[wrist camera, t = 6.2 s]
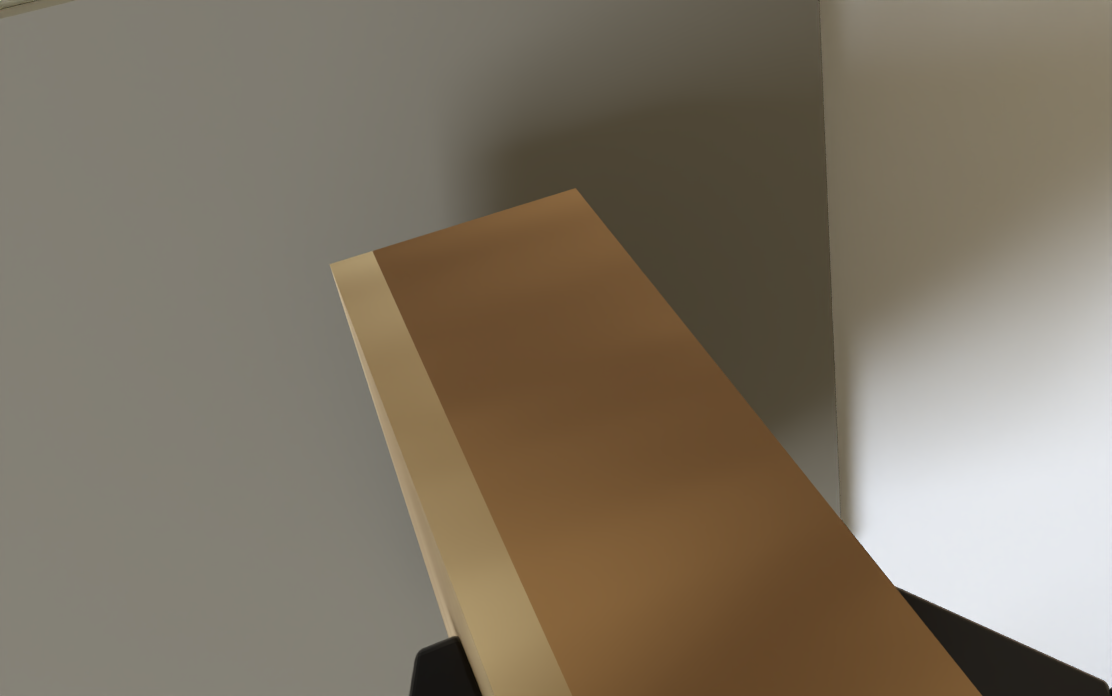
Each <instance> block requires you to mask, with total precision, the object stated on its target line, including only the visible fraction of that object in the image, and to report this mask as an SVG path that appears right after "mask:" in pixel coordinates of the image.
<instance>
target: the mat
mask: <svg viewBox="0 0 1112 696" xmlns="http://www.w3.org/2000/svg"><path fill="white" fill-rule="evenodd" d="M574 188H576V189H577V190H578V192H579V193H580V194H581V195H582V197H583V198H584V199H585V200H586V202H587V203H588V204H589V205H590V207H591V208H592V209H593V210H594V212H595V213H596V214H597V215H598V217H599V218H600V219H601V220H602V222H603V223H604V224H605V225H606V227H607V228H608V229H609V230H610V232H611V233H612V234H613V235H614V237H615V238H616V239H617V240H618V242H619V243H620V244H621V245H622V247H623V248H624V249H625V250H626V252H627V253H628V254H629V255H630V257H631V258H632V259H633V260H634V262H635V263H636V264H637V265H638V267H639V268H640V269H641V270H642V272H643V273H644V274H645V275H646V277H647V278H648V279H649V280H650V282H651V283H652V284H653V285H654V287H655V288H656V289H657V290H658V292H659V293H660V294H661V295H662V297H663V298H664V299H665V300H666V302H667V303H668V304H669V305H670V307H671V308H672V309H673V310H674V312H675V313H676V314H677V315H678V317H679V318H680V319H681V320H682V322H683V323H684V324H685V325H686V327H687V328H688V329H689V330H690V332H691V333H692V334H693V335H694V337H695V338H696V339H697V340H698V342H699V343H700V344H701V345H702V346H703V348H704V349H705V350H706V351H707V353H708V354H709V355H710V356H711V358H712V359H713V360H714V361H715V363H716V364H717V365H718V366H719V368H720V369H721V370H722V371H723V373H724V374H725V375H726V376H727V378H728V379H729V380H730V381H731V383H732V384H733V385H734V386H735V388H736V389H737V390H738V391H739V393H740V394H741V395H742V396H743V398H744V399H745V400H746V401H747V403H748V404H749V405H750V406H751V408H752V409H753V410H754V411H755V413H756V414H757V415H758V416H759V418H760V419H761V420H762V421H763V423H764V424H765V425H766V426H767V428H768V429H769V430H770V431H771V433H772V434H773V435H774V436H775V438H776V439H777V440H778V441H779V443H780V444H781V445H782V446H783V448H784V449H785V450H786V451H787V453H788V454H789V455H790V456H791V458H792V459H793V460H794V461H795V463H796V464H797V465H798V466H799V468H800V469H801V470H802V471H803V473H804V474H805V475H806V476H807V478H808V479H809V480H810V481H811V483H812V484H813V485H814V486H815V488H816V489H817V490H818V491H819V493H820V494H821V495H822V496H823V498H824V499H825V500H826V501H827V503H828V504H829V505H830V506H831V508H832V509H833V510H834V511H835V513H836V514H837V515H838V516H839V518H840V519H841V513H840V489H839V465H838V441H837V417H836V393H835V369H834V345H833V321H832V297H831V273H830V249H829V225H828V201H827V177H826V153H825V129H824V105H823V81H822V57H821V33H820V9H819V0H37V1H33V2H29V3H25V4H21V5H17V6H13V7H9V8H4V9H0V696H409V691H410V685H411V678H412V672H413V666H414V660H415V657H416V654H417V653H418V651H419V650H421V649H422V648H425V647H427V646H430V645H432V644H435V643H437V642H440V641H442V640H445V639H447V638H449V637H448V634H447V631H446V627H445V624H444V621H443V618H442V615H441V612H440V609H439V605H438V602H437V599H436V596H435V593H434V590H433V587H432V584H431V580H430V577H429V574H428V571H427V568H426V565H425V562H424V559H423V555H422V552H421V549H420V546H419V543H418V540H417V537H416V533H415V530H414V527H413V524H412V521H411V518H410V515H409V512H408V508H407V505H406V502H405V499H404V496H403V493H402V490H401V487H400V483H399V480H398V477H397V474H396V471H395V468H394V465H393V461H392V458H391V455H390V452H389V449H388V446H387V443H386V440H385V436H384V433H383V430H382V427H381V424H380V421H379V418H378V415H377V411H376V408H375V405H374V402H373V399H372V396H371V393H370V390H369V386H368V383H367V380H366V377H365V374H364V371H363V368H362V364H361V361H360V358H359V355H358V352H357V349H356V346H355V343H354V339H353V336H352V333H351V330H350V327H349V324H348V321H347V318H346V314H345V311H344V308H343V305H342V302H341V299H340V296H339V292H338V289H337V286H336V283H335V280H334V277H333V274H332V271H331V267H330V264H332V263H335V262H338V261H342V260H345V259H348V258H351V257H355V256H358V255H361V254H364V253H368V252H371V251H374V250H377V249H380V248H384V247H387V246H390V245H393V244H397V243H400V242H403V241H406V240H410V239H413V238H416V237H419V236H422V235H426V234H429V233H432V232H435V231H439V230H442V229H445V228H448V227H451V226H455V225H458V224H461V223H464V222H468V221H471V220H474V219H477V218H481V217H484V216H487V215H490V214H493V213H497V212H500V211H503V210H506V209H510V208H513V207H516V206H519V205H523V204H526V203H529V202H532V201H535V200H539V199H542V198H545V197H548V196H552V195H555V194H558V193H561V192H565V191H568V190H571V189H574Z"/></svg>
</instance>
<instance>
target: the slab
mask: <svg viewBox="0 0 1112 696" xmlns="http://www.w3.org/2000/svg"><path fill="white" fill-rule="evenodd" d="M330 267H331V271H332V274H333V277H334V280H335V283H336V286H337V289H338V292H339V296H340V299H341V302H342V305H343V308H344V311H345V314H346V318H347V321H348V324H349V327H350V330H351V333H352V336H353V339H354V343H355V346H356V349H357V352H358V355H359V358H360V361H361V364H362V368H363V371H364V374H365V377H366V380H367V383H368V386H369V390H370V393H371V396H372V399H373V402H374V405H375V408H376V411H377V415H378V418H379V421H380V424H381V427H382V430H383V433H384V436H385V440H386V443H387V446H388V449H389V452H390V455H391V458H392V461H393V465H394V468H395V471H396V474H397V477H398V480H399V483H400V487H401V490H402V493H403V496H404V499H405V502H406V505H407V508H408V512H409V515H410V518H411V521H412V524H413V527H414V530H415V533H416V537H417V540H418V543H419V546H420V549H421V552H422V555H423V559H424V562H425V565H426V568H427V571H428V574H429V577H430V580H431V584H432V587H433V590H434V593H435V596H436V599H437V602H438V605H439V609H440V612H441V615H442V618H443V621H444V624H445V627H446V631H447V634H448V637H449V638H450V637H452V636H458V637H459V638H460V640H461V643H462V645H463V648H464V650H465V653H466V655H467V658H468V661H469V663H470V666H471V668H472V671H473V673H474V676H475V678H476V681H477V683H478V686H479V688H480V691H481V693H482V696H982V695H981V694H980V692H979V691H978V690H977V689H976V687H975V686H974V685H973V684H972V682H971V681H970V680H969V679H968V677H967V676H966V675H965V674H964V672H963V671H962V670H961V669H960V667H959V666H958V665H957V664H956V662H955V661H954V660H953V659H952V657H951V656H950V655H949V654H948V652H947V651H946V650H945V649H944V647H943V646H942V645H941V644H940V642H939V641H938V640H937V639H936V637H935V636H934V635H933V634H932V632H931V631H930V630H929V629H928V627H927V626H926V625H925V624H924V622H923V621H922V620H921V619H920V617H919V616H918V615H917V614H916V612H915V611H914V610H913V609H912V607H911V606H910V605H909V604H908V602H907V601H906V600H905V599H904V597H903V596H902V595H901V594H900V592H899V591H898V590H897V589H896V587H895V586H894V585H893V584H892V582H891V581H890V580H889V579H888V577H887V576H886V575H885V574H884V572H883V571H882V570H881V569H880V567H879V566H878V565H877V564H876V562H875V561H874V560H873V559H872V557H871V556H870V555H869V554H868V552H867V551H866V550H865V549H864V548H863V546H862V545H861V544H860V543H859V541H858V540H857V539H856V538H855V536H854V535H853V534H852V533H851V531H850V530H849V529H848V528H847V526H846V525H845V524H844V523H843V521H842V520H841V519H840V518H839V516H838V515H837V514H836V513H835V511H834V510H833V509H832V508H831V506H830V505H829V504H828V503H827V501H826V500H825V499H824V498H823V496H822V495H821V494H820V493H819V491H818V490H817V489H816V488H815V486H814V485H813V484H812V483H811V481H810V480H809V479H808V478H807V476H806V475H805V474H804V473H803V471H802V470H801V469H800V468H799V466H798V465H797V464H796V463H795V461H794V460H793V459H792V458H791V456H790V455H789V454H788V453H787V451H786V450H785V449H784V448H783V446H782V445H781V444H780V443H779V441H778V440H777V439H776V438H775V436H774V435H773V434H772V433H771V431H770V430H769V429H768V428H767V426H766V425H765V424H764V423H763V421H762V420H761V419H760V418H759V416H758V415H757V414H756V413H755V411H754V410H753V409H752V408H751V406H750V405H749V404H748V403H747V401H746V400H745V399H744V398H743V396H742V395H741V394H740V393H739V391H738V390H737V389H736V388H735V386H734V385H733V384H732V383H731V381H730V380H729V379H728V378H727V376H726V375H725V374H724V373H723V371H722V370H721V369H720V368H719V366H718V365H717V364H716V363H715V361H714V360H713V359H712V358H711V356H710V355H709V354H708V353H707V351H706V350H705V349H704V348H703V346H702V345H701V344H700V343H699V342H698V340H697V339H696V338H695V337H694V335H693V334H692V333H691V332H690V330H689V329H688V328H687V327H686V325H685V324H684V323H683V322H682V320H681V319H680V318H679V317H678V315H677V314H676V313H675V312H674V310H673V309H672V308H671V307H670V305H669V304H668V303H667V302H666V300H665V299H664V298H663V297H662V295H661V294H660V293H659V292H658V290H657V289H656V288H655V287H654V285H653V284H652V283H651V282H650V280H649V279H648V278H647V277H646V275H645V274H644V273H643V272H642V270H641V269H640V268H639V267H638V265H637V264H636V263H635V262H634V260H633V259H632V258H631V257H630V255H629V254H628V253H627V252H626V250H625V249H624V248H623V247H622V245H621V244H620V243H619V242H618V240H617V239H616V238H615V237H614V235H613V234H612V233H611V232H610V230H609V229H608V228H607V227H606V225H605V224H604V223H603V222H602V220H601V219H600V218H599V217H598V215H597V214H596V213H595V212H594V210H593V209H592V208H591V207H590V205H589V204H588V203H587V202H586V200H585V199H584V198H583V197H582V195H581V194H580V193H579V192H578V190H577V189H576V188H574V189H571V190H568V191H565V192H561V193H558V194H555V195H552V196H548V197H545V198H542V199H539V200H535V201H532V202H529V203H526V204H523V205H519V206H516V207H513V208H510V209H506V210H503V211H500V212H497V213H493V214H490V215H487V216H484V217H481V218H477V219H474V220H471V221H468V222H464V223H461V224H458V225H455V226H451V227H448V228H445V229H442V230H439V231H435V232H432V233H429V234H426V235H422V236H419V237H416V238H413V239H410V240H406V241H403V242H400V243H397V244H393V245H390V246H387V247H384V248H380V249H377V250H374V251H371V252H368V253H364V254H361V255H358V256H355V257H351V258H348V259H345V260H342V261H338V262H335V263H332V264H330Z"/></svg>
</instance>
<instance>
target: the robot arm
mask: <svg viewBox="0 0 1112 696" xmlns="http://www.w3.org/2000/svg"><path fill="white" fill-rule="evenodd" d="M895 587H896V586H895ZM896 589H897V590H898V591H899V592H900V594H901V595H902V596H903V597H904V599H905V600H906V601H907V602H908V604H909V605H910V606H911V607H912V609H913V610H914V611H915V612H916V614H917V615H918V616H919V617H920V619H921V620H922V621H923V622H924V624H925V625H926V626H927V627H928V629H929V630H930V631H931V632H932V634H933V635H934V636H935V637H936V639H937V640H938V641H939V642H940V644H941V645H942V646H943V647H944V649H945V650H946V651H947V652H948V654H949V655H950V656H951V657H952V659H953V660H954V661H955V662H956V664H957V665H958V666H959V667H960V669H961V670H962V671H963V672H964V674H965V675H966V676H967V677H968V679H969V680H970V681H971V682H972V684H973V685H974V686H975V687H976V689H977V690H978V691H979V692H980V694H981V695H982V696H1112V688H1111V689H1109V686H1108V684H1107V683H1106V682H1105V681H1104V680H1102V679H1099V678H1097V677H1095V676H1093V675H1091V674H1088V673H1086V672H1084V671H1082V670H1079V669H1077V668H1075V667H1073V666H1071V665H1068V664H1066V663H1064V662H1062V661H1060V660H1057V659H1055V658H1053V657H1051V656H1048V655H1046V654H1044V653H1042V652H1040V651H1037V650H1035V649H1033V648H1031V647H1029V646H1026V645H1024V644H1022V643H1020V642H1018V641H1015V640H1013V639H1011V638H1009V637H1006V636H1004V635H1002V634H1000V633H998V632H995V631H993V630H991V629H989V628H987V627H984V626H982V625H980V624H978V623H976V622H973V621H971V620H969V619H967V618H964V617H962V616H960V615H958V614H956V613H953V612H951V611H949V610H947V609H945V608H942V607H940V606H938V605H936V604H934V603H931V602H929V601H927V600H925V599H922V598H920V597H918V596H916V595H914V594H911V593H909V592H907V591H905V590H903V589H900V588H898V587H896ZM409 696H482V693H481V691H480V688H479V686H478V683H477V681H476V678H475V676H474V673H473V671H472V668H471V666H470V663H469V661H468V658H467V655H466V653H465V650H464V648H463V645H462V643H461V640H460V638H459V637H458V636H452V637H450V638H447V639H445V640H442V641H440V642H437V643H435V644H432V645H430V646H427V647H425V648H422V649H421V650H419V651H418V653H417V654H416V657H415V660H414V666H413V672H412V678H411V685H410V691H409Z"/></svg>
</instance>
